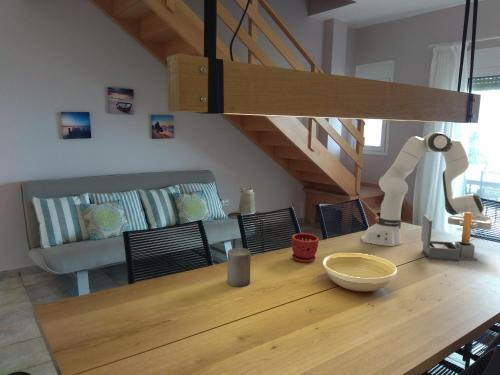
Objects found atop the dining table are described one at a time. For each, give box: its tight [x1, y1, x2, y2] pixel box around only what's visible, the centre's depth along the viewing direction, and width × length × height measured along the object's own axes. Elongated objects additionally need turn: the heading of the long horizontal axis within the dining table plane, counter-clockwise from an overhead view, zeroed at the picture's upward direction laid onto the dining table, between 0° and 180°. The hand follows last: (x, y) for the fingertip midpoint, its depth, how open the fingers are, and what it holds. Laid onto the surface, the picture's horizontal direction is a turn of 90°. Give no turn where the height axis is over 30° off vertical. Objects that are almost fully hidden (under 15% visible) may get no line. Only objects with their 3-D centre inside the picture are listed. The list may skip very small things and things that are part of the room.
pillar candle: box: [226, 247, 252, 288], centre depth 160 cm, size 10×10×15 cm
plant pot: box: [291, 233, 320, 264], centre depth 190 cm, size 13×13×12 cm
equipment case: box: [420, 214, 460, 262], centre depth 200 cm, size 15×14×20 cm
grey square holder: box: [454, 241, 478, 261], centre depth 200 cm, size 10×10×7 cm
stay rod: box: [460, 212, 472, 244], centre depth 199 cm, size 4×4×16 cm
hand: (466, 225), depth 198 cm, fingers closed on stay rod, 4 cm apart
